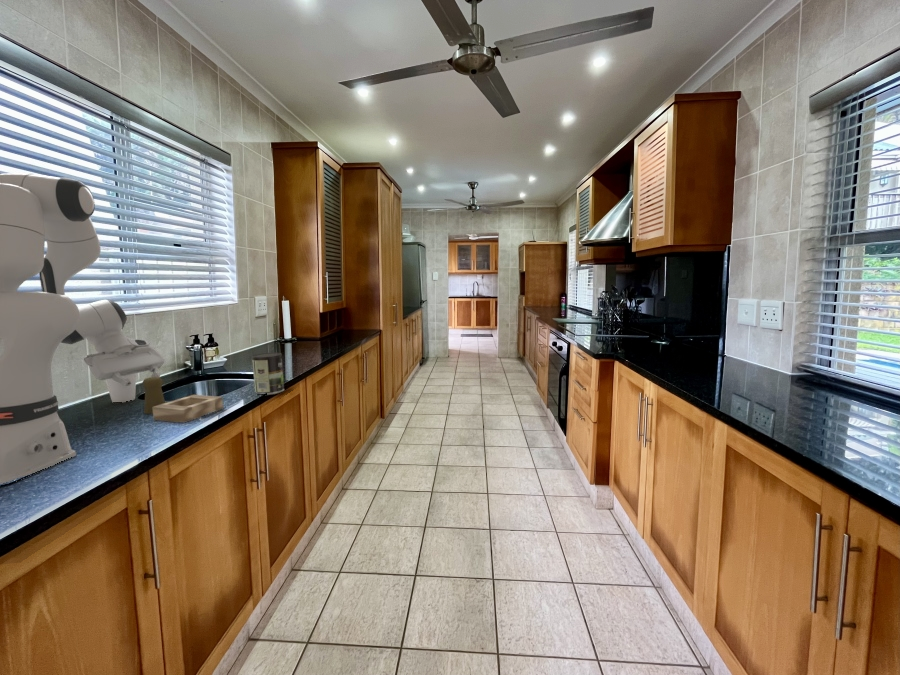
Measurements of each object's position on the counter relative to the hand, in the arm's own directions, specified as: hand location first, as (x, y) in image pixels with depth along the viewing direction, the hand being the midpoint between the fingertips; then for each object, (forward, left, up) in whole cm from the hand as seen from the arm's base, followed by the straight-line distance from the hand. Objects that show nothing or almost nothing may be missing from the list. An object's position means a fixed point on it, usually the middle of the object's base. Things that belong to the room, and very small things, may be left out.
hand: (143, 381), depth 131 cm
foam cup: (+14, +15, -10) cm, 23 cm away
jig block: (-8, -17, -9) cm, 21 cm away
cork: (-2, -4, -10) cm, 11 cm away
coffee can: (+16, -34, -10) cm, 39 cm away
